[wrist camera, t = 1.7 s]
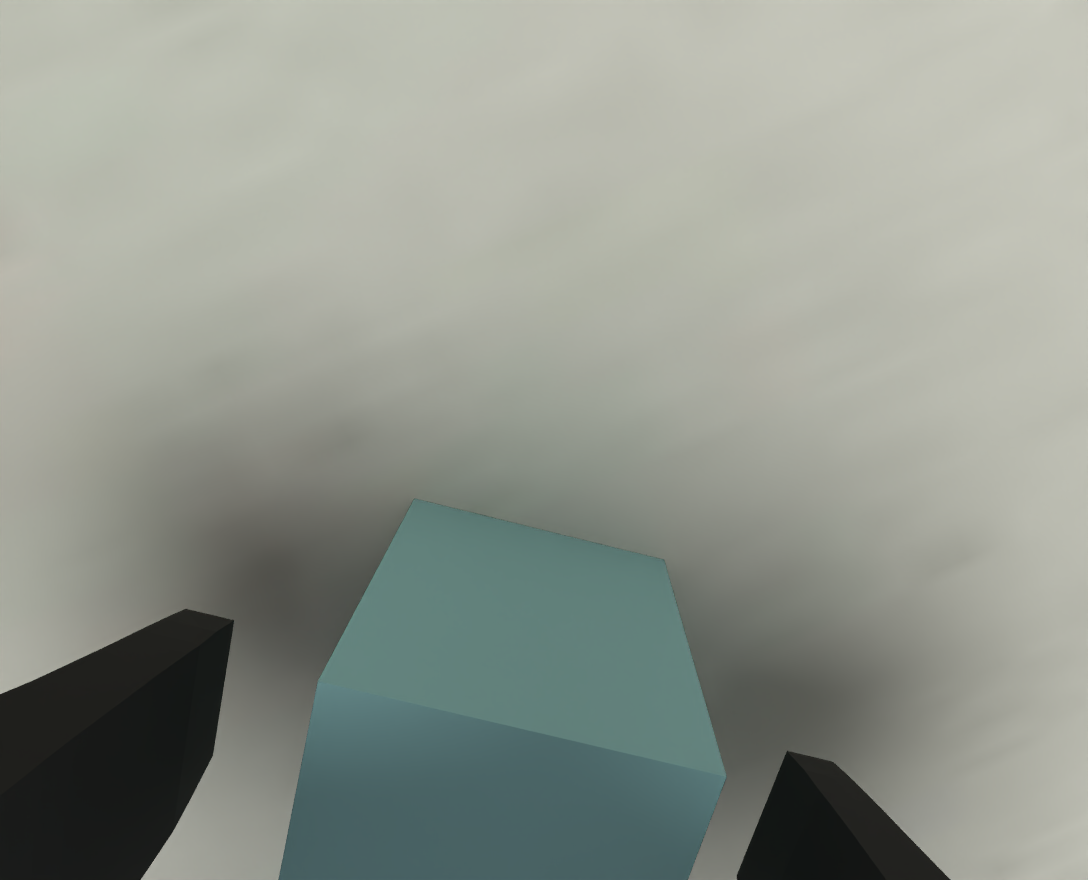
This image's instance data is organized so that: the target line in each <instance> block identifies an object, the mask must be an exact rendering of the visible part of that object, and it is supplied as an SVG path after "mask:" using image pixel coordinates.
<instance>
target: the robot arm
mask: <svg viewBox="0 0 1088 880" xmlns="http://www.w3.org/2000/svg"><path fill="white" fill-rule="evenodd" d="M233 624H234V620H230V619H226V618H222V617H218V616H213V615H209V614H205V613H201V612H197V611H192V610H188V609H185V610H182V611H180V612H178V613H175V614H173V615H171V616H169V617H167V618H164V619H162V620H160V621H158V622H156V623H154V624H152V625H150V626H148V627H145V628H143V629H141V630H139V631H137V632H135V633H133V634H131V635H129V636H127V637H125V638H123V639H121V640H119V641H117V642H114V643H112V644H110V645H108V646H106V647H104V648H102V649H100V650H98V651H96V652H93V653H91V654H89V655H87V656H85V657H83V658H81V659H79V660H76V661H74V662H72V663H70V664H68V665H66V666H64V667H61V668H59V669H57V670H55V671H53V672H51V673H49V674H46V675H44V676H42V677H40V678H38V679H36V680H33V681H31V682H29V683H26V684H24V685H21V686H19V687H17V688H14V689H12V690H10V691H7V692H5V693H2V694H0V880H141V878H142V877H143V875H144V874H145V872H146V871H147V869H148V868H149V866H150V865H151V864H152V862H153V861H154V859H155V858H156V856H157V855H158V853H159V852H160V850H161V849H162V847H163V846H164V844H165V843H166V841H167V840H168V838H169V837H170V835H171V834H172V832H173V830H174V829H175V827H176V825H177V823H178V821H179V819H180V817H181V816H182V814H183V812H184V810H185V808H186V806H187V804H188V803H189V801H190V799H191V797H192V795H193V793H194V791H195V789H196V787H197V785H198V783H199V781H200V779H201V777H202V776H203V774H204V772H205V770H206V768H207V766H208V764H209V762H210V760H211V758H212V756H213V751H214V744H215V738H216V732H217V725H218V719H219V713H220V706H221V700H222V694H223V687H224V681H225V675H226V668H227V662H228V656H229V649H230V643H231V637H232V631H233ZM737 880H950V879H949V878H948V877H947V876H946V875H945V874H944V873H943V872H942V871H941V870H940V869H939V868H938V867H937V866H936V865H935V864H934V863H933V862H932V861H931V860H930V858H929V857H928V856H927V855H926V854H925V853H924V852H923V851H922V850H921V849H920V848H919V847H918V846H917V845H916V844H915V843H914V842H913V841H912V840H911V839H910V838H909V837H908V836H907V835H906V834H905V833H904V832H903V831H902V830H901V829H900V827H899V826H898V825H897V824H896V823H895V822H894V821H893V820H892V819H891V818H890V817H889V816H888V815H887V814H886V813H885V812H884V811H883V810H882V809H881V808H880V807H879V806H878V805H877V804H876V803H875V802H874V801H873V800H872V799H871V798H870V797H869V796H868V795H867V794H866V793H865V792H864V791H863V790H862V789H861V788H860V787H859V786H858V785H857V784H856V783H855V782H854V781H853V780H852V779H851V778H850V777H849V776H848V775H847V774H846V773H845V772H843V771H842V770H841V769H840V768H839V767H838V766H837V765H836V764H834V763H833V762H831V761H827V760H823V759H818V758H814V757H810V756H806V755H802V754H797V753H793V752H789V751H787V752H786V755H785V757H784V760H783V762H782V765H781V767H780V770H779V772H778V775H777V777H776V780H775V782H774V785H773V787H772V790H771V792H770V795H769V797H768V800H767V802H766V804H765V807H764V809H763V812H762V814H761V817H760V819H759V822H758V824H757V827H756V829H755V832H754V834H753V837H752V839H751V842H750V844H749V847H748V849H747V852H746V854H745V856H744V859H743V861H742V864H741V866H740V869H739V871H738V874H737Z"/></svg>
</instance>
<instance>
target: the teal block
mask: <svg viewBox="0 0 1088 880" xmlns="http://www.w3.org/2000/svg"><path fill="white" fill-rule="evenodd" d="M726 777H727V776H726V772H725V769H724V766H723V762H722V759H721V755H720V752H719V748H718V745H717V741H716V738H715V734H714V731H713V728H712V724H711V721H710V717H709V714H708V710H707V707H706V703H705V700H704V696H703V693H702V690H701V686H700V683H699V679H698V676H697V672H696V669H695V665H694V662H693V658H692V655H691V652H690V648H689V645H688V641H687V638H686V634H685V631H684V627H683V624H682V620H681V617H680V614H679V610H678V607H677V603H676V600H675V596H674V593H673V589H672V586H671V582H670V579H669V576H668V572H667V569H666V565H665V562H664V560H663V559H659V558H654V557H650V556H646V555H642V554H638V553H634V552H630V551H626V550H622V549H618V548H614V547H610V546H606V545H602V544H597V543H593V542H589V541H585V540H581V539H577V538H573V537H569V536H565V535H561V534H557V533H553V532H549V531H545V530H540V529H536V528H532V527H528V526H524V525H520V524H516V523H512V522H508V521H504V520H500V519H496V518H492V517H488V516H483V515H479V514H475V513H471V512H467V511H463V510H459V509H455V508H451V507H447V506H443V505H439V504H435V503H431V502H426V501H422V500H418V499H414V500H413V502H412V504H411V506H410V508H409V510H408V512H407V514H406V515H405V517H404V519H403V521H402V523H401V525H400V527H399V529H398V531H397V532H396V534H395V536H394V538H393V540H392V542H391V544H390V546H389V548H388V549H387V551H386V553H385V555H384V557H383V559H382V561H381V563H380V565H379V567H378V568H377V570H376V572H375V574H374V576H373V578H372V580H371V582H370V584H369V585H368V587H367V589H366V591H365V593H364V595H363V597H362V599H361V601H360V602H359V604H358V606H357V608H356V610H355V612H354V614H353V616H352V618H351V619H350V621H349V623H348V625H347V627H346V629H345V631H344V633H343V635H342V637H341V638H340V640H339V642H338V644H337V646H336V648H335V650H334V652H333V654H332V655H331V657H330V659H329V661H328V663H327V665H326V667H325V669H324V671H323V672H322V674H321V676H320V678H319V680H318V683H317V688H316V693H315V698H314V703H313V708H312V713H311V718H310V724H309V729H308V734H307V739H306V744H305V749H304V754H303V759H302V764H301V769H300V774H299V779H298V784H297V789H296V794H295V799H294V804H293V809H292V814H291V819H290V824H289V829H288V835H287V840H286V845H285V850H284V855H283V860H282V865H281V870H280V875H279V880H688V878H689V875H690V872H691V870H692V867H693V864H694V862H695V859H696V857H697V854H698V851H699V849H700V846H701V843H702V841H703V838H704V835H705V833H706V830H707V828H708V825H709V822H710V820H711V817H712V814H713V812H714V809H715V806H716V804H717V801H718V798H719V796H720V793H721V791H722V788H723V785H724V783H725V780H726Z"/></svg>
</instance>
